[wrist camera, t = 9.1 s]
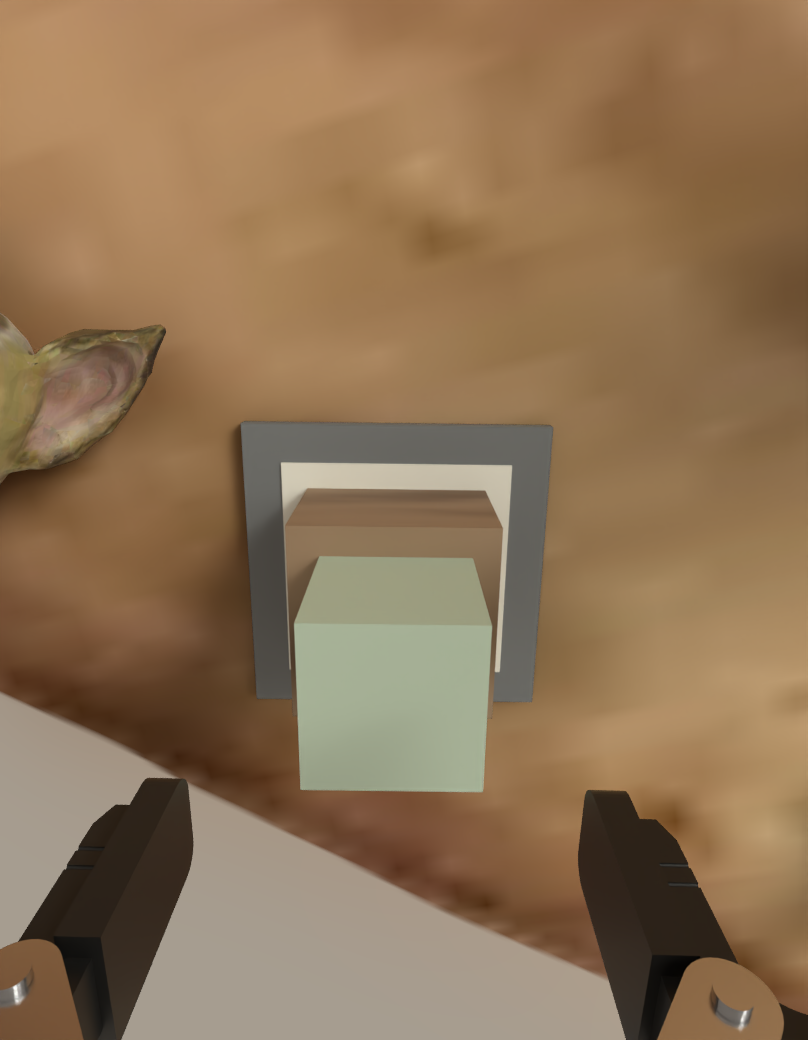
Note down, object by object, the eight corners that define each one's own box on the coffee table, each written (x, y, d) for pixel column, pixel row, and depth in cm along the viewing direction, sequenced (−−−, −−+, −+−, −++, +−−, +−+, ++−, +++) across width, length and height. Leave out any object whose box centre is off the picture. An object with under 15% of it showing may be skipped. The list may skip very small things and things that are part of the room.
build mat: (244, 421, 26) (240, 423, 25) (549, 425, 26) (553, 428, 25) (259, 691, 29) (256, 699, 29) (529, 694, 29) (532, 703, 29)
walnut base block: (307, 488, 26) (284, 525, 21) (485, 490, 26) (503, 528, 21) (312, 648, 28) (292, 716, 23) (477, 650, 28) (492, 718, 23)
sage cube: (319, 556, 21) (293, 623, 17) (472, 558, 21) (491, 626, 17) (322, 692, 23) (300, 789, 18) (466, 693, 23) (483, 792, 18)
